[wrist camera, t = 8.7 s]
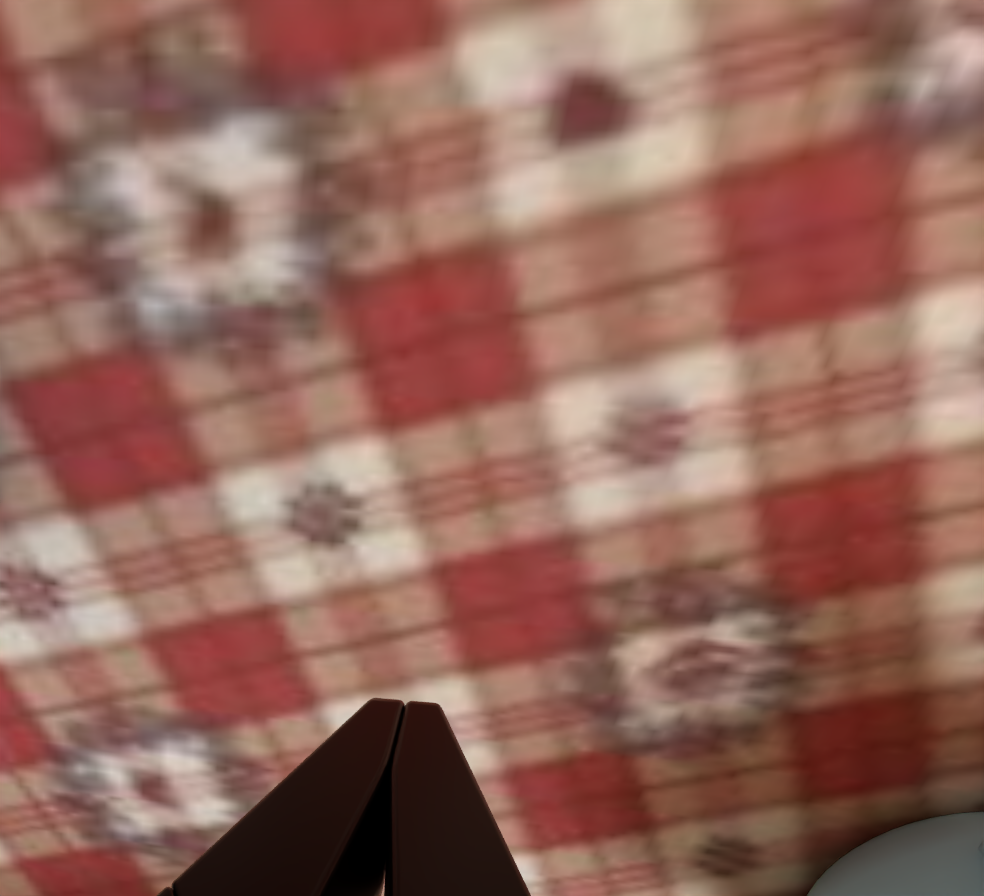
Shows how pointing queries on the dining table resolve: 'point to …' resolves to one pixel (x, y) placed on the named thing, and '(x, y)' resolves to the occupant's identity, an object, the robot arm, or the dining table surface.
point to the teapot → (913, 861)
